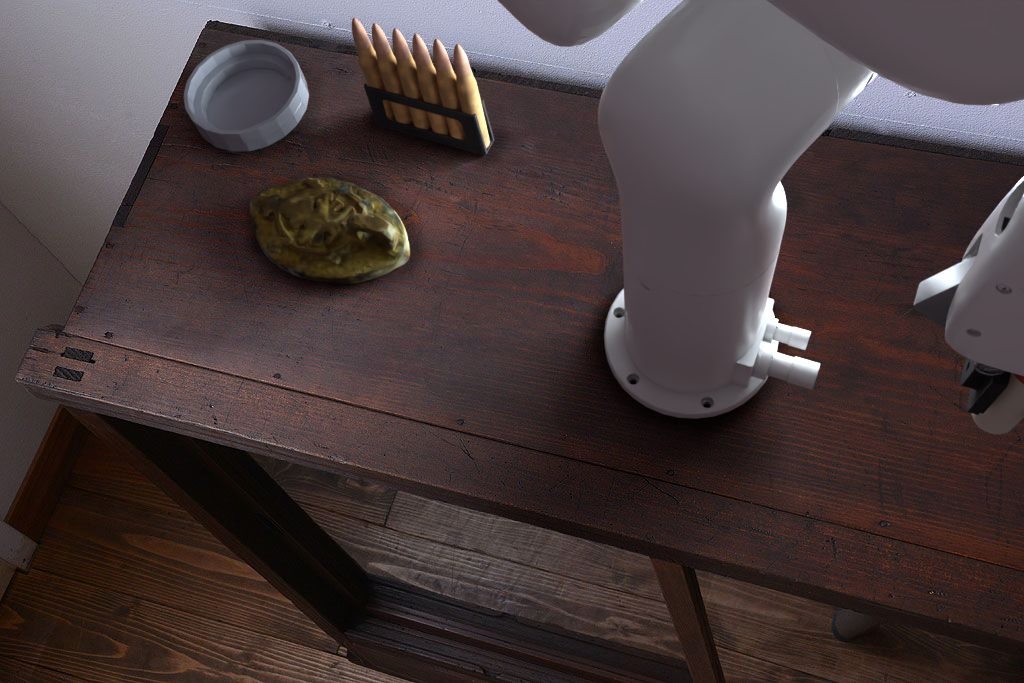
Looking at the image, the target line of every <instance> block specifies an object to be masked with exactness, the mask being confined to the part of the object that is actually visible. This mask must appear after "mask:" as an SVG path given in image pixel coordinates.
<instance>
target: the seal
mask: <svg viewBox="0 0 1024 683" xmlns="http://www.w3.org/2000/svg"><path fill="white" fill-rule="evenodd" d="M248 205H249V215H250V220H251V223H252V229H253V233H254V236H255V238H256V240H257V243H258V245H259V246H260V248H261V250H262V252H263V253H264V255H265V256H266V257H267V258H268V259H269V261H270V262H272V263H273V264H274V265H275V266H276V267H278V268H279V269H281V270H282V271H285V272H287V273H289V274H291V275H293V276H295V277H299V278H301V279H304V280H307V281H316V282H320V283H325V284H338V285H339V284H347V285H352V284H353V285H354V284H359V283H364V282H367V281H371V280H372V281H373V280H375V279H378V278H381V277H383V276H385V275H387V274H389V273H391V272H392V271H394V270H396V269H399V268H400V267H402V266H404V265H405V264H406V263H407V262H408V261H409V259H410V257H411V248H410V242H409V236H408V232H407V230H406V227H405V225H404V223H403V221H402V219H401V218H400V216H399V215H398V213H397V212H396V211H395V210H394V209H393V208H392V207H391V206H390V205H389V203H388V202H386V200H385V199H384V198H382V197H381V196H379V195H377V194H375V193H373V192H371V191H369V190H368V189H364V188H363V187H361V186H359V185H358V184H356V183H353V182H349V181H344V180H343V181H342V180H340V179H337V178H335V177H334V178H333V177H310V176H309V177H305V178H303V179H297V180H294V181H291V182H288V183H287V182H286V183H284V184H281V185H275V186H273V187H271V188H267V189H265V190H263V191H261V192H260V193H258V194H256V196H254V197H253V198H251V200H250V201H249V203H248Z"/></svg>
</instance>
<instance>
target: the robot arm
mask: <svg viewBox="0 0 1024 683" xmlns="http://www.w3.org/2000/svg"><path fill="white" fill-rule="evenodd" d="M496 1H497V2H498V3H499V4H501V6H502V7H503V8H504V9H505V10H506V11H507V12H508V13H509V14H510V15H512V17H513V18H515V20H517V21H518V22H519V23H520V24H521V25H522V26H523V27H524V28H526V29H527V30H528V31H529V32H531V33H532V34H533V35H534V36H536V37H537V38H539V39H540V40H542V41H544V42H546V43H549V44H550V45H552V46H553V45H554V46H555V47H560V48H571V47H575V46H582V45H584V44H586V43H588V42H591V41H594V40H595V39H597V38H599V37H600V36H602V35H603V34H605V33H606V32H607V31H609V30H610V29H611V28H613V27H614V26H616V25H617V24H618V23H619V22H621V21H622V20H623V19H624V18H626V17H627V16H628V15H629V14H631V13H632V12H633V11H635V9H636V8H637V7H638V6H640V5H641V4H642V3H643V2H644V1H645V0H496ZM877 76H879V77H880V78H882V79H885V80H887V81H889V82H891V83H893V84H895V85H898V86H900V87H902V88H904V89H906V90H909V91H912V92H914V93H916V94H919V95H922V96H925V97H928V98H931V99H936V100H939V101H943V102H947V103H951V104H956V105H963V106H1001V105H1006V104H1011V103H1014V102H1020V101H1023V100H1024V0H682V1H681V2H680V3H678V4H677V5H676V6H675V7H674V8H673V9H672V10H671V11H670V12H668V13H667V14H666V15H665V16H664V17H663V18H662V19H661V20H660V21H659V22H658V23H657V24H655V25H654V26H653V27H652V28H651V29H650V30H649V31H648V32H647V33H646V34H645V36H643V37H642V38H641V39H640V40H639V41H638V42H637V43H636V44H635V46H633V48H632V49H631V50H630V51H629V52H628V53H627V54H626V55H625V57H624V58H623V59H622V60H621V62H620V63H619V64H618V65H617V67H616V68H615V69H614V70H613V72H612V73H611V75H610V76H609V79H608V80H607V82H606V84H605V86H604V88H603V90H602V93H601V96H600V98H599V102H598V108H597V125H598V131H599V136H600V140H601V143H602V146H603V149H604V151H605V154H606V157H607V160H608V161H609V164H610V166H611V169H612V170H611V171H612V173H613V175H614V178H615V183H616V188H617V190H618V191H617V192H618V197H619V207H620V208H619V210H620V224H621V226H620V227H621V238H622V239H621V240H622V241H621V242H622V272H623V273H622V274H623V276H622V277H623V288H622V289H621V290H620V291H619V292H618V293H617V294H616V297H615V299H614V300H613V302H612V304H611V305H610V306H609V310H608V313H607V316H606V319H605V324H604V332H603V341H604V350H605V356H606V361H607V363H608V365H609V367H610V370H611V372H612V374H613V376H614V378H615V379H616V380H617V382H618V384H619V385H620V387H621V388H622V389H623V390H624V391H625V392H626V393H627V394H628V395H629V396H630V397H631V398H632V399H634V400H635V401H637V402H638V403H640V404H641V405H643V406H645V407H646V408H647V409H650V410H652V411H654V412H657V413H659V414H662V415H665V416H669V417H673V418H679V419H693V420H694V419H695V420H697V419H705V418H713V417H716V416H720V415H723V414H726V413H729V412H731V411H733V410H735V409H736V408H739V407H740V406H742V405H744V404H745V403H747V402H748V401H749V400H750V399H752V398H753V397H754V396H755V395H756V394H757V393H758V392H759V391H760V390H761V388H762V387H763V386H764V384H765V383H766V382H767V380H768V378H769V377H771V378H775V379H778V380H781V381H785V382H786V383H787V384H791V385H794V386H797V387H801V388H804V389H808V390H811V391H812V390H813V388H814V386H815V383H816V380H817V377H818V374H819V370H820V366H821V363H820V362H817V361H813V360H810V359H806V358H803V357H800V356H797V355H796V356H791V355H788V354H785V353H781V352H778V349H779V348H778V347H779V343H782V344H785V345H787V346H788V347H793V348H796V349H798V350H803V351H806V349H807V347H808V343H809V341H810V337H811V334H812V331H810V330H807V329H803V328H801V327H797V326H790V325H787V324H782V323H779V319H778V318H775V314H774V311H773V308H774V304H775V300H774V299H773V298H770V297H769V295H770V290H771V286H772V282H773V280H774V279H773V278H774V274H775V271H776V267H777V262H778V258H779V254H780V250H781V245H782V241H783V235H784V232H785V227H786V223H787V222H786V221H787V211H788V207H787V206H788V202H787V198H786V192H785V189H784V186H783V185H782V182H781V181H782V179H784V177H785V175H787V173H788V171H789V170H790V169H791V168H792V167H793V165H794V164H795V163H796V161H797V160H798V159H799V158H800V157H801V156H802V155H803V154H804V153H805V152H806V150H808V149H809V147H811V145H812V144H813V143H814V142H815V141H816V140H817V139H819V137H820V136H821V135H822V134H823V133H824V132H825V131H826V130H827V129H828V128H829V127H830V126H831V124H832V123H833V121H834V120H835V119H836V118H837V117H838V116H839V115H840V114H841V113H842V111H844V109H846V107H848V106H849V105H850V104H851V102H853V100H855V99H856V97H858V96H859V94H861V93H862V92H863V90H864V89H866V88H867V87H868V85H869V84H871V82H872V81H874V79H875V78H876V77H877ZM912 309H913V311H914V312H915V313H917V314H918V315H920V316H922V317H924V318H926V319H927V320H930V321H931V322H934V323H935V324H937V325H939V326H941V327H943V328H944V340H945V342H946V343H947V345H949V347H950V348H951V349H953V351H955V352H956V353H958V354H959V355H961V356H963V357H965V358H966V360H965V363H964V365H963V368H962V371H961V372H962V373H961V377H960V382H959V385H960V386H961V387H965V388H968V389H970V392H969V395H968V400H967V405H966V412H967V413H969V414H971V413H972V414H976V415H979V414H980V413H982V414H983V413H984V412H985V411H986V410H987V409H988V408H989V407H990V406H991V404H992V403H993V402H994V401H995V400H996V399H997V398H998V397H999V396H1000V394H1001V393H1002V392H1003V391H1004V390H1005V389H1006V388H1007V386H1008V384H1009V380H1010V375H1011V373H1014V374H1018V375H1021V376H1024V176H1023V177H1021V178H1020V179H1019V180H1018V181H1017V183H1016V184H1015V185H1014V186H1013V187H1012V188H1011V189H1010V190H1009V191H1008V192H1007V194H1006V195H1005V196H1004V197H1003V198H1002V200H1001V201H1000V202H999V203H998V204H997V206H996V207H995V208H994V210H993V211H992V212H991V213H990V215H989V216H988V217H987V218H986V220H985V221H984V223H983V224H982V225H981V227H980V228H979V229H978V230H977V231H976V234H975V235H974V236H973V238H972V240H971V241H970V243H969V245H968V246H967V248H966V250H965V252H964V254H963V256H962V260H961V262H958V263H956V264H954V265H952V266H950V267H948V268H946V269H943V270H942V271H940V272H938V273H936V274H934V275H932V276H930V277H927V278H926V279H923V280H921V281H920V282H919V283H918V284H917V288H916V293H915V296H914V301H913V304H912ZM631 382H635V384H633V383H631ZM705 405H708V406H709V407H705ZM972 414H971V415H972Z"/></svg>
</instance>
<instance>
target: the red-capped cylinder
mask: <svg viewBox="0 0 1024 683" xmlns="http://www.w3.org/2000/svg"><path fill="white" fill-rule="evenodd" d="M970 414H971V418H972V420H973V422H974V423H975V425H976V426H977V427H978V428H979V429H980V430H982V431H984V432H986V433H988V434H990V435H1004V434H1007V433H1009V432H1010V431H1012V430H1013V429H1014V428H1015V427H1016V426H1017V425H1018V424H1019V423H1020V422H1021V421H1022V420H1023V419H1024V376H1021V375H1018V374H1014V373H1011V375H1010V380H1009V384H1008V386H1007V388H1006V389H1005V390H1004V391H1003V392H1002V393H1001V394H1000V396H999V397H998V398H997V399H996V400H995V401H994V402H993V403H992V404H991V406H990V407H989V408H988V409H987V410H986V411H985V412H984V413H983V414H982V413H980V414H979V415H976V414H972V413H970Z"/></svg>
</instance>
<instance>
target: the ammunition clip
mask: <svg viewBox="0 0 1024 683" xmlns="http://www.w3.org/2000/svg"><path fill="white" fill-rule="evenodd" d="M351 34H352V39H353V42H354V45H355V50H356V52H357V60H358V64H359V67H360V69H361V72H362V75H363V78H364V81H365V83H364V85H363V88H364V91H365V94H366V98H367V100H368V104H369V106H370V109H371V113H372V116H373V119H374V122H375V125H376V126H380V127H383V128H386V129H389V130H393V131H397V132H400V133H403V134H407V135H410V136H414V137H417V138H421V139H423V140H428V141H431V142H435V143H438V144H442V145H444V146H445V145H446V146H449V147H452V148H456V149H460V150H463V151H466V152H469V153H474V154H477V155H481V156H483V157H484V156H486V155H487V154H488V153H489V150H490V149H491V147H492V145H493V143H494V141H495V136H494V132H493V129H492V125H491V122H490V118H489V115H488V111H487V108H486V104H485V99H483V98H481V94H480V92H479V87H478V83H477V80H476V78H475V76H474V73H473V71H472V68H471V65H470V61H469V58H468V56H467V54H466V52H465V50H464V48H462V46H461V45H460V44H459V43H456V44H455V45H454V48H453V53H452V57H453V58H452V59H453V60H452V61H453V66H452V63H451V61H450V56H449V55H448V52H447V50H446V48H445V46H444V45H443V43H442V41H440V39H438V38H434V40H433V43H432V58H431V56H430V53H429V50H428V47H427V46H426V43H425V42H424V40H423V39H422V37H421V36H420V35H419V34H418V33H417V32H415V33H414V34H413V36H412V40H411V41H412V44H411V46H412V52H411V51H410V47H409V45H408V42H407V41H406V38H405V37H404V35H403V33H402V32H401V31H400V30H399V29H398V28H396V27H395V28H393V30H392V34H391V43H392V48H391V45H390V43H389V42H390V41H389V40H388V38H387V36H386V34H385V32H384V31H383V29H382V27H380V25H378V23H376V22H373V24H372V26H371V38H372V40H370V37H369V35H368V33H367V31H366V28H365V27H364V25H363V24H362V23H361V21H360V20H358V18H356V17H352V19H351ZM371 41H372V42H371ZM392 50H393V51H392ZM412 55H413V56H412ZM432 59H433V61H432ZM453 67H454V68H453Z"/></svg>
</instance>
